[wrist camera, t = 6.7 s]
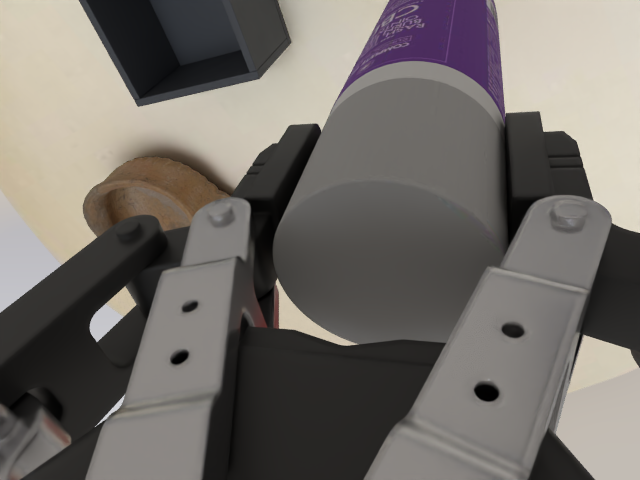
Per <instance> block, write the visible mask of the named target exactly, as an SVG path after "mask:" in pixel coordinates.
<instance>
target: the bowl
mask: <svg viewBox="0 0 640 480" xmlns="http://www.w3.org/2000/svg"><path fill="white" fill-rule="evenodd" d="M228 197H230V195H228V194H227V193H225V192H223V191H220V190H218V188H217V187H216V185H214V184H213V183H211V182H209V181H208V180H207V179H206V177H205V176H203V175H200V174H199V173H198V171H194V170H192V169H191V168H190V167H189V166H188V165H183V164H182V163H181V162H177V161H172V160H171V159H169V158H158V157H152V158H149V157H143V158H135V159H134V160H132V161H127V162H126V163H124V164H123V165H121V166H119V167H118V168H116V169H115V170H114V171H113V172H112V173H111V174H110V175H109V176H108V177H107V178H106V179H105V181H103V182H102V183H100V184H98V185H96V186H95V187H93V188H92V189H91V190H90V192H89V193H88V195H87V196H86V197H85V200H84V204H83V214H84V217H85V219H86V221H87V224H88V226H89V227H90V228H91V230H92V231H93V232H94V234H95V235H96V236H97V237H99V236H100V235H101V234H103V233H104V232H105V231H107V230H108V229H109V228H110V227H112V226H113V225H115V224H116V223H118V222H120V221H122V220H124V219H127V218H129V217H133V216H137V215H152V216H155V217H156V218H157V219H158V220H159V222H160V224H161V226H162V228H163V230H164V231H167V230H172V229H177V228H182V227H187V226H190V225H191V221H192V218H193V216H194V215H195V213H196V212H197V211H198V210H199V209H201V208H202V207H203V206H205V205H207V204H208V203H210V202H213V201H215V200H218V199H222V198H228Z"/></svg>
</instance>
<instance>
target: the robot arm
mask: <svg viewBox="0 0 640 480" xmlns="http://www.w3.org/2000/svg"><path fill="white" fill-rule="evenodd" d="M320 135H321V130H320V127H319V125H318V124H301V125H290V126H289V127H288V128H287V130H286V132H285V133H284V135H283V136H282V138H281V139H280V141H279V142H278V143H275V144H272V145H270V146H269V147H268V148H266V149H265V150H264V151H262V152H261V153H260V154H259V155H258V157H257V158H256V160H255V161H254V163H253V166H251V167H250V168H249V170H248V171H247V175H245V176H244V177H243V179H242V180H241V182H240V183H239V185H238V186H237V188H236V189H235V191H234V192H233V194H232V195H231V196H230V197H228V198H222V199H218V200H215V201H213V202H210V203H208V204H207V205H205V206H203V207H202V208H201V209H199V210H198V211H197V212H196V213H195V215H194V216H193V218H192V221H191V225H190V226H187V227H182V228H177V229H172V230H167V231H164V230H163V228H162V226H161V224H160V222H159V220H158V219H157V218H156V217H155V216H152V215H137V216H133V217H129V218H127V219H124V220H122V221H120V222H118V223H116V224H115V225H113V226H112V227H110V228H109V229H108V230H107V231H105V232H104V233H103V234H101V235H100V236H99V237H98V238H96V239H95V240H94V241H92V242H91V243H90V244H89V245H87V246H86V247H85V248H83V249H82V250H81V251H80V252H78V253H77V254H76V255H74V256H73V257H72V258H70V259H69V260H68V261H67V262H65V263H64V264H63V265H61V266H60V267H59V268H58V269H56V270H55V271H54V272H52V273H51V274H50V275H49V276H47V277H46V278H45V279H43V280H42V281H41V282H40V283H38V284H37V285H36V286H34V287H33V288H32V289H31V290H29V291H28V292H27V293H25V294H24V295H23V296H22V297H20V298H19V299H18V300H17V301H15V302H14V303H12V304H11V305H10V306H9V307H7V308H6V309H5V310H3V311H2V312H1V313H0V480H595V479H594V478H593V477H592V476H591V475H590V473H589V472H588V471H587V470H586V469H585V468H584V467H583V465H582V464H581V463H580V462H579V461H578V460H577V459H576V457H575V456H574V455H573V454H572V453H571V452H570V450H568V448H567V447H566V446H565V445H564V444H563V443H562V441H561V440H560V439H559V438H558V437H557V436H556V430H557V427H558V423H559V419H560V416H561V412H562V408H563V404H564V401H565V397H566V394H567V390H568V387H569V384H570V380H571V377H572V374H573V370H574V367H575V364H576V360H577V357H578V354H579V350H580V347H581V344H582V340H583V337H584V335H586V336H590V337H593V338H596V339H599V340H602V341H606V342H609V343H612V344H615V345H618V346H622V347H625V348H628V349H630V350H631V354H632V356H633V358H634V360H635V361H636V363H637V364H638V366H639V367H640V233H637V232H633V231H629V230H626V229H623V228H621V227H618V226H616V225H614V224H612V218H611V215H610V213H609V212H608V210H607V209H606V208H605V207H603V206H602V205H601V204H599V203H597V202H595V201H593V197H592V194H591V190H590V187H589V183H588V180H587V176H586V173H585V169H584V168H583V162H582V159H581V157H580V152H579V148H578V145H577V142H576V141H575V140H574V139H572V138H571V137H570V136H569V135H567V134H566V133H565V132H564V131H555V132H543V127H542V122H541V117H540V112H539V111H537V112H519V113H506V117H505V147H506V171H507V197H508V239H509V248H508V250H507V252H506V254H505V256H504V258H503V260H502V262H501V264H500V266H499V267H498V266H494V265H489V266H488V267H487V268H486V270H485V271H484V273H483V275H482V277H481V279H480V281H479V282H478V284H477V286H476V288H475V290H474V292H473V294H472V296H471V297H470V299H469V301H468V303H467V305H466V307H465V309H464V311H463V312H462V314H461V316H460V318H459V320H458V322H457V324H456V326H455V327H454V329H453V331H452V333H451V335H450V337H449V339H448V341H447V343H441V342H429V341H417V340H406V339H400V340H392V341H384V342H376V343H367V344H359V345H351V346H342V345H338V344H335V343H332V342H329V341H326V340H323V339H320V338H317V337H314V336H311V335H308V334H305V333H302V332H299V331H296V330H288V329H279V292H278V288H277V285H276V280H277V278H278V277H277V274H276V271H275V267H274V263H273V241H274V237H275V233H276V231H277V228H278V226H279V223H280V221H281V219H282V217H283V215H284V213H285V210H286V208H287V206H288V204H289V202H290V200H291V197H292V195H293V193H294V191H295V189H296V187H297V184H298V182H299V180H300V178H301V176H302V174H303V171H304V169H305V167H306V165H307V163H308V161H309V158H310V156H311V154H312V152H313V150H314V148H315V145H316V143H317V141H318V139H319V137H320ZM125 286H126V288H127V289H128V291H129V293H130V294H131V296H132V298H133V299H134V301H135V303H136V304H137V305H136V306H135V307H134V308H133V309H132V310H131V311H130V312H129V313H128V314H127V315H125V316H124V317H123V318H122V319H121V320H120V321H119V322H118V323H117V324H116V325H115V326H114V327H113V328H112V329H111V330H110V331H109V332H108V333H107V334H106V335H105V336H104V337H102V338H101V339H100V340H99V341H98V342H96V340H95V339H94V338H93V336H92V335H91V333H90V329H89V327H90V321H91V319H92V317H93V315H94V314H95V313H96V311H98V310H99V309H100V308H101V307H102V306H103V305H105V304H106V303H107V302H108V301H109V300H110V299H111V298H112V297H113V296H115V295H116V294H117V293H118V292H119V291H120V290H121V289H122V288H123V287H125ZM124 395H125V397H124V401H123V403H122V405H121V407H120V408H119V409H118V410H117V411H115V412H113V413H112V414H111V415H110V416H109V417H108V418H107V419H106V420H105V421H103V422H102V423H100V424H99V425H97V424H98V423H99V422H100V421H101V420H102V419H103V417H104V416H105V415H106V414H107V413H108V412H109V411H110V410H111V409H112V408H113V407H114V406H115V404H116V403H117V402H118V401H119V400H120V399H121V398H122V397H123V396H124ZM96 425H97V426H96ZM95 426H96V427H95Z"/></svg>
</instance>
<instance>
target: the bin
mask: <svg viewBox="0 0 640 480" xmlns="http://www.w3.org/2000/svg"><path fill="white" fill-rule="evenodd" d="M79 2H80V3H81V5H82V7H83V9H84V11H85V12H86V14H87V16H88V18H89V20H90V21H91V23H92V25H93V27H94V29H95V30H96V32H97V34H98V36H99V38H100V39H101V41H102V43H103V45H104V47H105V48H106V50H107V52H108V54H109V56H110V57H111V59H112V61H113V63H114V65H115V66H116V68H117V70H118V72H119V74H120V75H121V77H122V79H123V81H124V83H125V84H126V86H127V88H128V90H129V92H130V93H131V95H132V97H133V99H134V100H135V102H136V104H137V106H138V107H139V106H144V105H148V104H152V103H157V102H161V101H165V100H170V99H174V98H178V97H183V96H187V95H191V94H196V93H200V92H204V91H209V90H213V89H217V88H222V87H226V86H230V85H235V84H239V83H243V82H248V81H252V80H256V79H260V78H261V77H262V75H263V74H264V73H265V72H266V71H267V70H268V69H269V67H270V66H271V65H272V64H273V63H274V62H275V61H276V59H277V58H278V57H279V56H280V55H281V54H282V53H283V51H284V50H285V49H286V48H287V47H288V46H289V45H290V43H291V41H290V38H289V35H288V32H287V29H286V26H285V23H284V19H283V16H282V13H281V10H280V7H279V4H278V1H277V0H79Z"/></svg>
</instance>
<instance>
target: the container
mask: <svg viewBox="0 0 640 480" xmlns="http://www.w3.org/2000/svg"><path fill="white" fill-rule="evenodd" d="M508 248H509V239H508V197H507V171H506V147H505V107H504V95H503V82H502V70H501V57H500V44H499V32H498V19H497V12H496V7H495V3H494V0H389V2H388V4H387V6H386V8H385V10H384V11H383V13H382V15H381V17H380V19H379V21H378V23H377V25H376V26H375V28H374V30H373V32H372V34H371V36H370V38H369V40H368V42H367V43H366V45H365V47H364V49H363V51H362V53H361V55H360V57H359V59H358V60H357V62H356V64H355V66H354V68H353V70H352V72H351V74H350V75H349V77H348V79H347V81H346V83H345V85H344V87H343V89H342V91H341V92H340V94H339V96H338V98H337V100H336V102H335V104H334V106H333V108H332V110H331V112H330V115H329V117H328V119H327V122H326V124H325V126H324V128H323V130H322V132H321V135H320V137H319V139H318V141H317V143H316V145H315V148H314V150H313V152H312V154H311V156H310V158H309V161H308V163H307V165H306V167H305V169H304V171H303V174H302V176H301V178H300V180H299V182H298V184H297V187H296V189H295V191H294V193H293V195H292V197H291V200H290V202H289V204H288V206H287V208H286V210H285V213H284V215H283V217H282V219H281V221H280V223H279V226H278V228H277V231H276V233H275V237H274V241H273V263H274V267H275V271H276V274H277V277H278V279H279V282H280V284H281V286H282V287H283V289H284V291H285V292H286V294H287V296H288V297H289V298H290V299H291V301H292V302H293V303H294V304H295V305H296V307H297V308H298V309H299V310H300V311H301V312H302V313H304V314H305V315H306V316H307V317H308V318H309V319H311V320H312V321H313V322H315V323H316V324H318V325H319V326H321V327H322V328H324V329H325V330H327V331H329V332H331V333H333V334H335V335H337V336H339V337H341V338H343V339H346V340H348V341H351V342H354V343H357V344H367V343H376V342H384V341H392V340H400V339H406V340H417V341H429V342H441V343H447V341H448V339H449V337H450V335H451V333H452V331H453V329H454V327H455V326H456V324H457V322H458V320H459V318H460V316H461V314H462V312H463V311H464V309H465V307H466V305H467V303H468V301H469V299H470V297H471V296H472V294H473V292H474V290H475V288H476V286H477V284H478V282H479V281H480V279H481V277H482V275H483V273H484V271H485V270H486V268H487V267H488V266H489V265H494V266H498V267H499V266H500V264H501V262H502V260H503V258H504V256H505V254H506V252H507V250H508Z"/></svg>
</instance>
